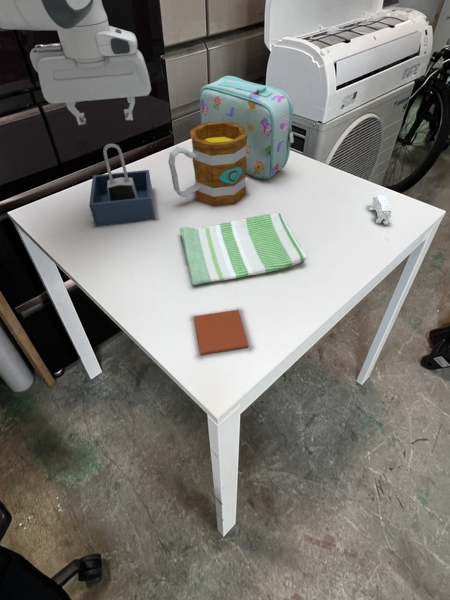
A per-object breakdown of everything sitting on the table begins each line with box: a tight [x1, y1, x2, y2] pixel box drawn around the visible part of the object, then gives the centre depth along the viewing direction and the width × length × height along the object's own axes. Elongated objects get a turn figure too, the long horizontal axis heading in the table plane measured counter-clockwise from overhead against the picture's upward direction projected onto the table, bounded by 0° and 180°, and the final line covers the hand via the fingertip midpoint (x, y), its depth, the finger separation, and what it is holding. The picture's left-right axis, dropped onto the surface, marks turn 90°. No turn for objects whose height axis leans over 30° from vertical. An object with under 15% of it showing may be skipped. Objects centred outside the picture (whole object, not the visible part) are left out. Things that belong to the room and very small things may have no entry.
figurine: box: [368, 195, 392, 226], centre depth 85 cm, size 2×8×5 cm, turn 0°
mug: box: [168, 121, 248, 207], centre depth 89 cm, size 20×14×15 cm
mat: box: [193, 309, 249, 356], centre depth 63 cm, size 8×8×1 cm
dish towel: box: [179, 212, 307, 286], centre depth 78 cm, size 18×23×3 cm
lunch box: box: [199, 75, 295, 180], centre depth 97 cm, size 27×10×21 cm, turn 48°
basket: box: [88, 169, 156, 227], centre depth 89 cm, size 14×14×6 cm
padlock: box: [102, 143, 138, 201], centre depth 85 cm, size 7×4×15 cm, turn 100°
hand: (106, 121), depth 76 cm, fingers open, 8 cm apart
